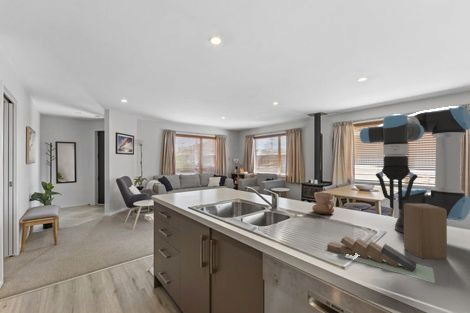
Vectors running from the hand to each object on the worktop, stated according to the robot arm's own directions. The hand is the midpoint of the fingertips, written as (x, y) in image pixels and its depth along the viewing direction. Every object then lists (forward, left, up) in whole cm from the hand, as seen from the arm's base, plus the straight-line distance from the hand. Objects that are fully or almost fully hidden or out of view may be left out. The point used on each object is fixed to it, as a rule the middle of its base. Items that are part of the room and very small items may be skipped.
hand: (396, 217), depth 81 cm
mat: (+5, -3, -17) cm, 18 cm away
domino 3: (+5, +1, -16) cm, 16 cm away
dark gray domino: (+5, +5, -16) cm, 17 cm away
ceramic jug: (-55, -45, -17) cm, 73 cm away
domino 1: (+5, -9, -16) cm, 18 cm away
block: (-15, +8, -17) cm, 24 cm away
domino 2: (+5, -4, -16) cm, 17 cm away
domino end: (+5, -13, -15) cm, 21 cm away
